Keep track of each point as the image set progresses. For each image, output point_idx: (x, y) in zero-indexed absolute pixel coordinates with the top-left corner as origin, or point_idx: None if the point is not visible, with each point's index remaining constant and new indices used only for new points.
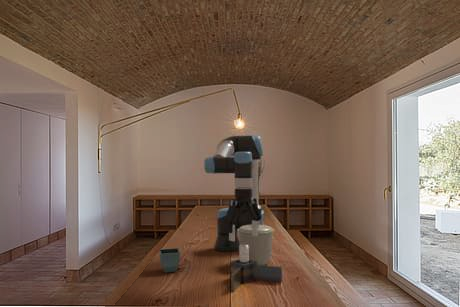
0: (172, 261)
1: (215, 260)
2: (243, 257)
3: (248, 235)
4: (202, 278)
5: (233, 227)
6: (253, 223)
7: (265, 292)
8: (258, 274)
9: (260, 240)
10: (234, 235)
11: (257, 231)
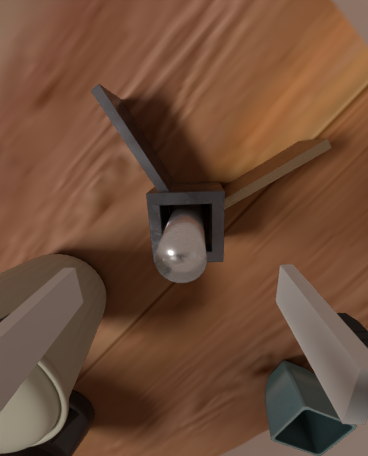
0: (311, 387)
1: (146, 364)
2: (199, 224)
3: (53, 357)
4: (274, 284)
5: (363, 344)
6: (16, 366)
7: (234, 59)
8: (163, 171)
9: (20, 303)
10: (301, 287)
11: (44, 286)
